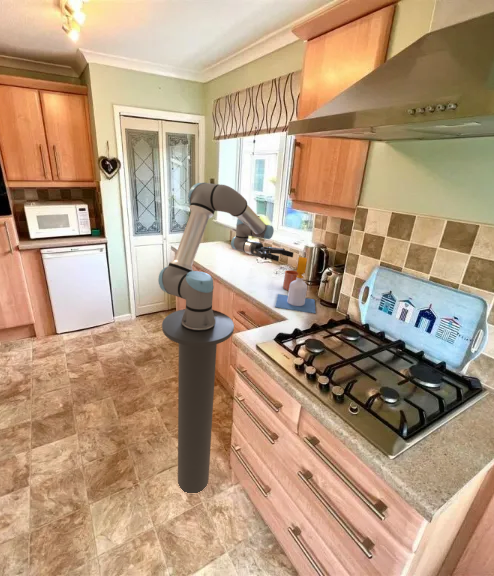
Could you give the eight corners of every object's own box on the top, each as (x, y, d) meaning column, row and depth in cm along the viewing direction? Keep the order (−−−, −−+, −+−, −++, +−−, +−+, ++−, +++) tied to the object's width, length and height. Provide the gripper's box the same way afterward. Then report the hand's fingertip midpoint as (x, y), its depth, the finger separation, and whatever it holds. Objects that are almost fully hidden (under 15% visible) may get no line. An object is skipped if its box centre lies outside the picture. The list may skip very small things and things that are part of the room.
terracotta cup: (282, 289, 179) (284, 273, 176) (283, 285, 187) (285, 269, 183) (296, 291, 178) (299, 275, 174) (297, 286, 185) (299, 271, 182)
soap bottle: (304, 300, 165) (311, 256, 156) (304, 307, 156) (312, 261, 147) (287, 298, 166) (294, 254, 157) (286, 304, 158) (293, 259, 149)
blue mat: (275, 307, 155) (275, 306, 155) (278, 294, 172) (278, 294, 172) (315, 313, 151) (315, 313, 151) (314, 300, 168) (314, 299, 167)
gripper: (266, 251, 182) (297, 260, 169) (239, 257, 165) (270, 267, 152) (268, 239, 180) (299, 246, 166) (240, 244, 163) (272, 253, 149)
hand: (285, 256), depth 159 cm, fingers open, 13 cm apart
